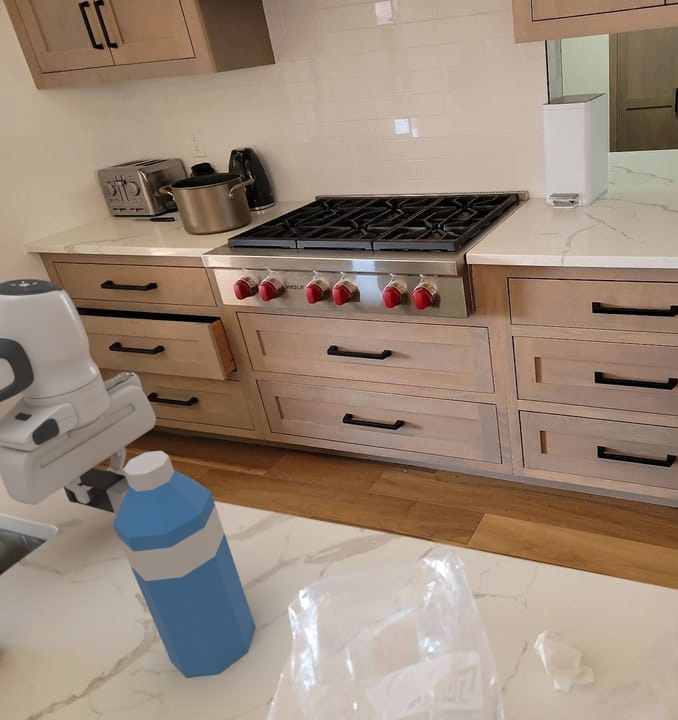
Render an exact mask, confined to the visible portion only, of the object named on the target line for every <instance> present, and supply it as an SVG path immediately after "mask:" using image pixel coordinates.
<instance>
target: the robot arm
mask: <svg viewBox="0 0 678 720" xmlns="http://www.w3.org/2000/svg"><path fill="white" fill-rule="evenodd" d="M88 337H89V336H88V334H87V332H86V329H85V326H84V324H83V320H82V318H81V317H80V314H79V312H78V310H77V308H76V306H75V304H74V302H73V300H72V299H71V297H70V295H69V294H68V293H67V291H66V290H64V288H62V287H61V286H60V285H58V284H56V283H55V282H51V281H49V280H43V279H38V278H22V279H21V278H20V279H13V280H7V281H3V282H0V403H2V402H4V401H6V400H9V399H11V398H13V397H15V396H17V395H19V394H21V396H22V397H20V399H19V400H18V401H17V402H16V404H15V405H13V406H12V408H11V409H10V410H9V411H8V412H7V413H6V414H5V415H4V416H3V417H1V419H0V477H1V480H2V484H3V486H4V488H5V491H6V493H7V494H8V496H9V498H10V499H11V500H14V501H15V502H19V503H20V504H21V503H22V504H25V505H31V506H35V505H38V504H40V503H42V502H43V501H45V500H46V499H47V498H48V497H50V496H52V495H54V494H55V493H57V492H58V491H59V490H61V489H63V488H64V487H65V488H67V489H69V490H71V491H73V492H74V493H75V495H76V498H77V500H78V501H79V502H80V503H84V504H87V503H88V502H90V501H91V500H92V499H94V498H95V494H94V491H93V487H87V486H85V485H82V486H81V487H80V486H79V485H78V484H79V483H81V479H80V477H79V476H81V475H82V474H84V473H85V472H87V471H88V470H90V469H91V468H95V467H96V466H97V465H99V464H101V463H102V462H104V461H105V460H106V459H108V458H109V457H110V460H109V467H107V468H106V469H105V470H104V471H108V472H112V473H116V474H120V475H124V476H125V473H124V471H123V469H124V468H125V466H124V465H125V461H126V456H127V450H126V446H128V445H130V444H131V443H132V442H134V441H136V440H137V439H139V438H140V437H141V436H143V435H144V434H146V433H148V432H150V431H151V430H152V429H153V428H155V425H156V421H157V416H156V413H155V411H154V409H153V407H152V405H151V402H150V401H149V399H148V397H147V395H146V393H145V392H144V391H143V386H142V382H141V379H140V377H139V376H138V375H137V374H136V373H135V372H131V371H130V372H129V371H128V372H127V371H122V372H119V373H118V374H116V375H115V376H114V377H111V378H109V379H107V380H103V377H102V374H101V370H100V368H99V366H98V365H97V363H96V362H95V361H94V360H93V358H92V356H91V353H90V341H89V338H88Z"/></svg>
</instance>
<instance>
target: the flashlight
mask: <svg viewBox="0 0 678 720" xmlns="http://www.w3.org/2000/svg"><path fill="white" fill-rule="evenodd" d="M79 477H80V479H81V483H79V484H78V485H79V486H80V487H81V486H82V485H85V486H87V487H93V491H94V494H95V498H94V499H92V500H91V501H90V502H88V503H87V504H84V503H80V502H79V501H78V500H77V498H76V495H75V493H74V492H73V491H71V490H69V489H67V488H65V487H63V489H64V492H65V495H66V497H67V499H68V501H69V502H70V503H73V504H80V505H83V506H86V507H91V508H94V509H98V510H101V511H105V512H109V513H111V514H115V516H116V515H117V513H118V511H119V509H120V506H121V504H122V502H123V499H124V497H125V495H126V493H127V490H128V488H129V483H128V481H127V478H126V476H124V475H120V474H116V473H112V472H108V471H105V470H104V469H99V468H96V467H93V468H91V469H90V470H88V471H87V472H85V473H84V474H82V475H81V476H79Z"/></svg>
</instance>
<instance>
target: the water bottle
mask: <svg viewBox="0 0 678 720" xmlns="http://www.w3.org/2000/svg"><path fill="white" fill-rule="evenodd" d="M123 468H124V469H123V471H124V473H125V476H126V478H127V481H128V483H129V488H128V490H127V493H126V495H125V497H124V499H123V502H122V504H121V506H120V509H119V511H118V513H117V515H116V514H115V518H114V520H113V522H112V525H113V528H114V531H115V533H116V536H117V538H118V540H119V542H120V545H121V547H122V550H123V552H124V554H125V556H126V560H127V561H128V564H129V565H130V568H131V571H132V573H133V576H134V578H135V581H136V582H137V585H138V587H139V590H140V592H141V595H142V596H143V600H144V601H145V604H146V606H147V609H148V611H149V614H150V616H151V618H152V621H153V622H154V625H155V628H156V630H157V632H158V635H159V637H160V639H161V642H162V645H163V646H164V649H165V651H166V653H167V657H168V658H169V661H170V662H171V663H172V664H173V666H174V667H175V668H177V670H178V671H179V672H180V673H181V674H182V675H183V676H184V678H186V679H187V678H194V677H195V678H196V677H204V676H213V675H219V674H221V673H223V671H225V670H226V669H228V668H229V667H230V666H231V665H233V664H234V663H235V662H238V660H239V659H241V658H242V657H244V656H245V655H246V654H248V653H249V651H250V647H251V643H252V640H253V636H254V632H255V630H256V623H255V621H254V618H253V615H252V612H251V609H250V606H249V603H248V600H247V597H246V593H245V591H244V588H243V584H242V581H241V579H240V575H239V572H238V570H237V566H236V563H235V561H234V558H233V554H232V552H231V549H230V545H229V542H228V539H227V537H226V534H225V533H226V532H225V530H224V526H223V524H222V522H221V518H220V515H219V512H218V509H217V506H216V503H215V500H214V497H213V494H212V492H211V490H209V489H207V488H206V487H205V486H203V485H202V484H201V483H199V482H198V481H196V480H195V479H193V478H192V477H189V476H187V475H185V474H184V473H181V472H180V471H177V470H175V468H174V467H173V464H172V461H171V458H170V456H169V455H168V454H167V453H165V452H164V451H162V450H155V451H146V452H143V453H141V454H139V455H137V456H135V457H133V458H131V459H129V460H128V462H127V463H126V465H125V466H124V467H123Z"/></svg>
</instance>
